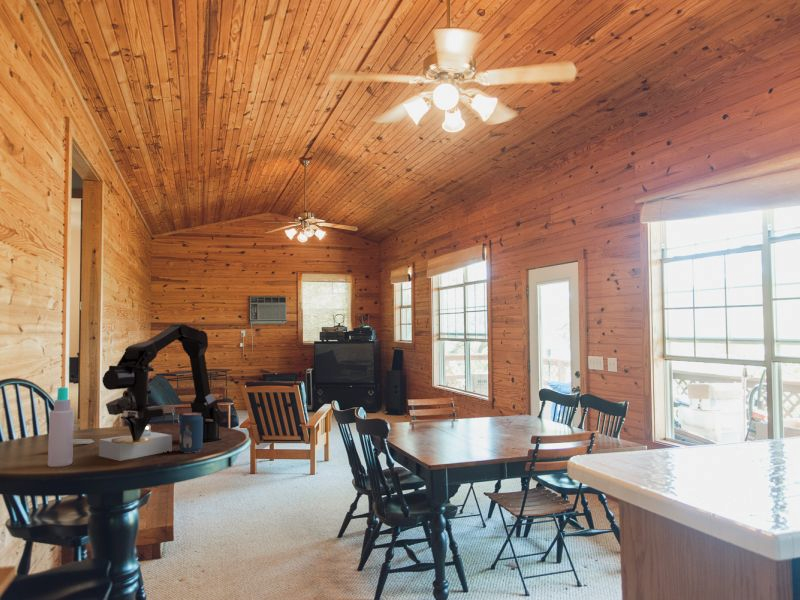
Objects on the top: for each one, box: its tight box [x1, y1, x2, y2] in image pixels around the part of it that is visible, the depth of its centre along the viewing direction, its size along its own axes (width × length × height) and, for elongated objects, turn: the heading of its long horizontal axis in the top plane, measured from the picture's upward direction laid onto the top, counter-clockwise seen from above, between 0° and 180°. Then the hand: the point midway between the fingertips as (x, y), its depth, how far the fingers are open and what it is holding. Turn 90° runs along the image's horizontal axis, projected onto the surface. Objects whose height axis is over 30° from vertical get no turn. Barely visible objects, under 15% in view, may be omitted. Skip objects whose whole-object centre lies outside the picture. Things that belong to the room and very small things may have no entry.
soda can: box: [179, 411, 204, 454], centre depth 177 cm, size 7×7×12 cm
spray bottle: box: [47, 387, 75, 468], centre depth 159 cm, size 6×6×22 cm
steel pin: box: [141, 424, 152, 437], centre depth 178 cm, size 5×5×8 cm
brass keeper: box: [114, 437, 153, 445], centre depth 165 cm, size 6×11×1 cm, turn 56°
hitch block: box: [98, 431, 173, 462], centre depth 174 cm, size 17×12×6 cm
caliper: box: [73, 438, 95, 445], centre depth 183 cm, size 20×1×6 cm, turn 174°
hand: (136, 440), depth 164 cm, fingers closed, pressing on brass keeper
